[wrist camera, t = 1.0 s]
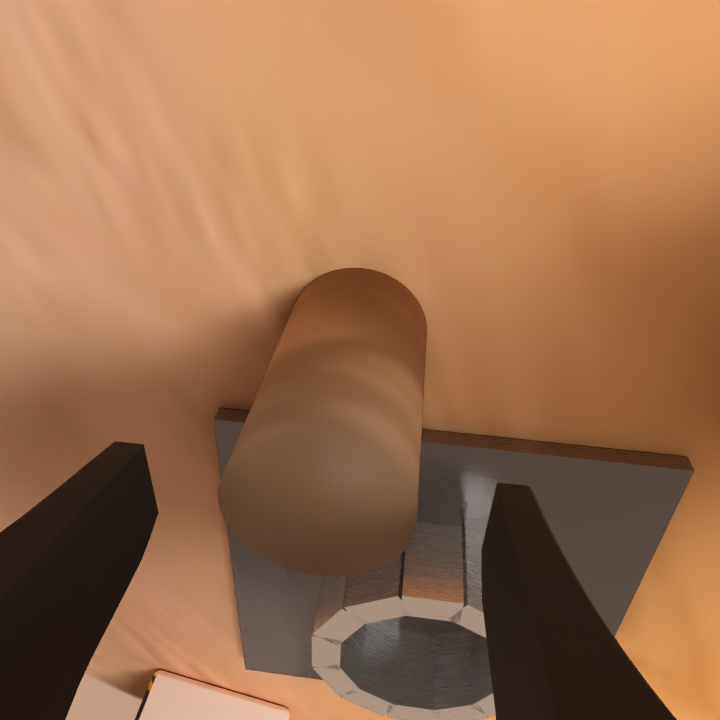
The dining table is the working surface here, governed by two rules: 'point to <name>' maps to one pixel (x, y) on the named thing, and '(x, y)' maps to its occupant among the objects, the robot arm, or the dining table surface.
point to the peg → (334, 431)
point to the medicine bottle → (201, 702)
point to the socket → (451, 571)
